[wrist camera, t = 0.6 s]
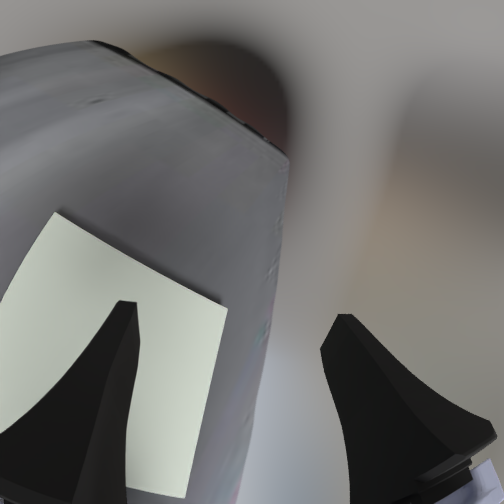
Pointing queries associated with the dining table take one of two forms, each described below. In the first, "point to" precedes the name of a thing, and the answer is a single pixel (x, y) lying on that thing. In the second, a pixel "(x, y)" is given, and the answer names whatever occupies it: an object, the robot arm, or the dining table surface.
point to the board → (84, 329)
